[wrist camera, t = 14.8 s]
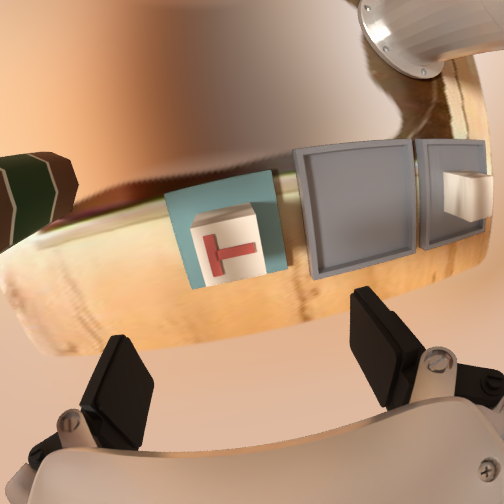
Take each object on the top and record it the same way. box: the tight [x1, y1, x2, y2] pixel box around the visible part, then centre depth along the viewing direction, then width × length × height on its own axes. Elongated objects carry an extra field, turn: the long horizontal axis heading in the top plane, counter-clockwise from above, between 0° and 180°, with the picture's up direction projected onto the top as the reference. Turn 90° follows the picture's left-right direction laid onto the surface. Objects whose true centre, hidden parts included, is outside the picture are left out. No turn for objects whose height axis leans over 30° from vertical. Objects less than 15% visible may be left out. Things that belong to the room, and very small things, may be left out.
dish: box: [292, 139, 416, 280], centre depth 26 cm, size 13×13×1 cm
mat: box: [164, 170, 288, 289], centre depth 26 cm, size 10×10×1 cm
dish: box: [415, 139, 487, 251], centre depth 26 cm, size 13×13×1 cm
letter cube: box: [190, 202, 267, 287], centre depth 23 cm, size 5×5×5 cm
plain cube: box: [443, 170, 493, 222], centre depth 24 cm, size 5×5×5 cm
